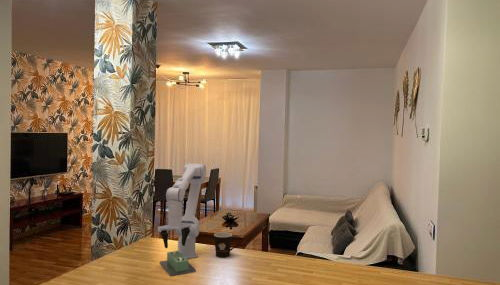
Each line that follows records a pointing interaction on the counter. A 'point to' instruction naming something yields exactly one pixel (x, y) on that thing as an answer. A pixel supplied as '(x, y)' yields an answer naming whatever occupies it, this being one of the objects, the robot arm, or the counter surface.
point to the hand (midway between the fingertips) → (174, 246)
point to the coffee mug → (223, 244)
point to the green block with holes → (177, 261)
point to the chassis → (172, 271)
